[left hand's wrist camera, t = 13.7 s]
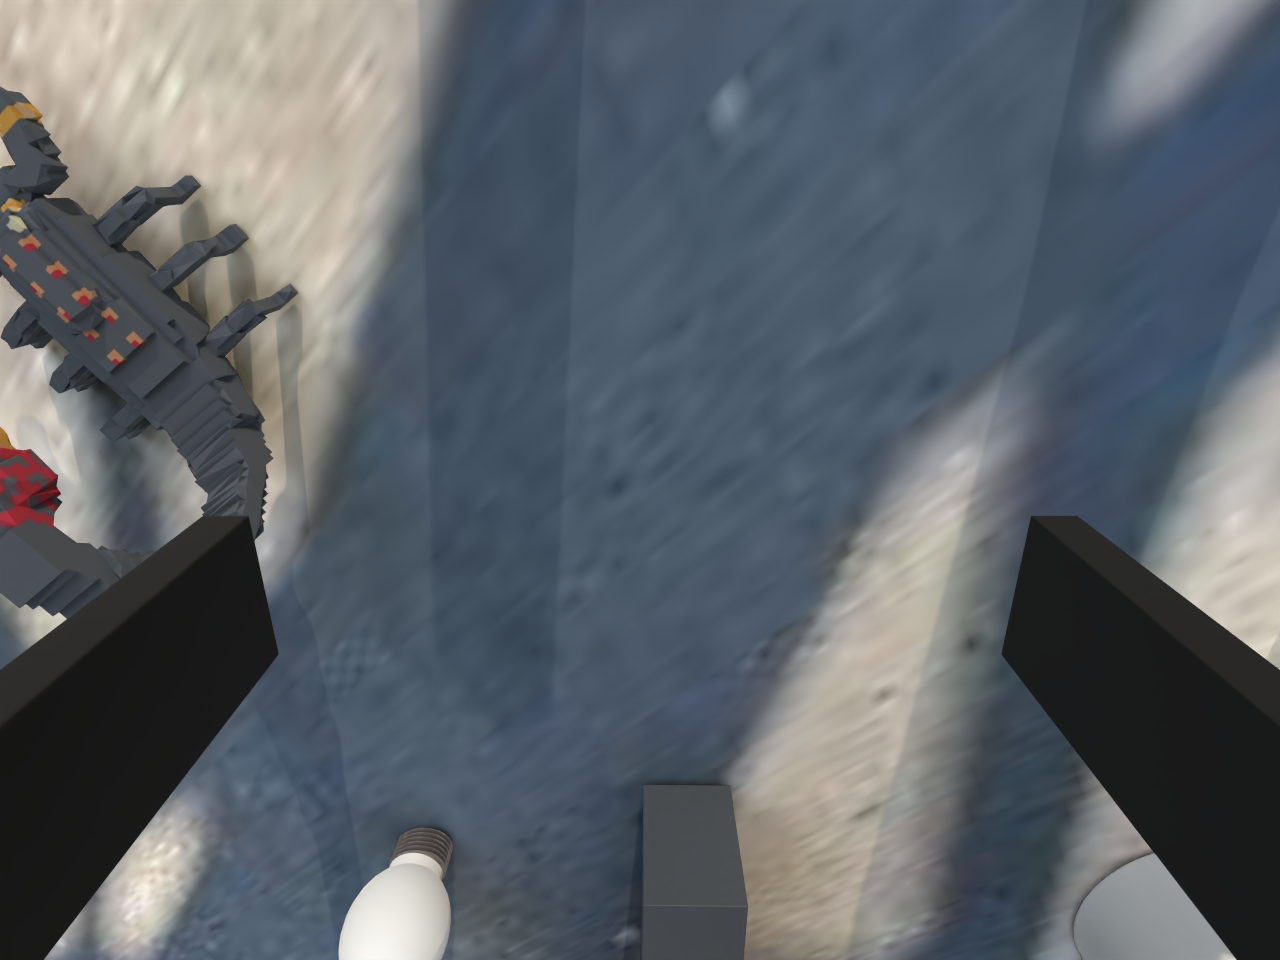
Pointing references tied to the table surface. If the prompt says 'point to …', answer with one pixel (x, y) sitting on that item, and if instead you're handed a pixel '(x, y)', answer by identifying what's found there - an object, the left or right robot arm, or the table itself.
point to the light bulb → (403, 904)
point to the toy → (114, 360)
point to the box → (691, 875)
